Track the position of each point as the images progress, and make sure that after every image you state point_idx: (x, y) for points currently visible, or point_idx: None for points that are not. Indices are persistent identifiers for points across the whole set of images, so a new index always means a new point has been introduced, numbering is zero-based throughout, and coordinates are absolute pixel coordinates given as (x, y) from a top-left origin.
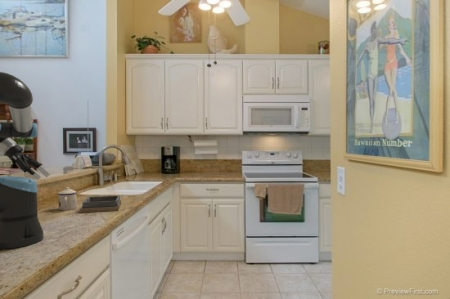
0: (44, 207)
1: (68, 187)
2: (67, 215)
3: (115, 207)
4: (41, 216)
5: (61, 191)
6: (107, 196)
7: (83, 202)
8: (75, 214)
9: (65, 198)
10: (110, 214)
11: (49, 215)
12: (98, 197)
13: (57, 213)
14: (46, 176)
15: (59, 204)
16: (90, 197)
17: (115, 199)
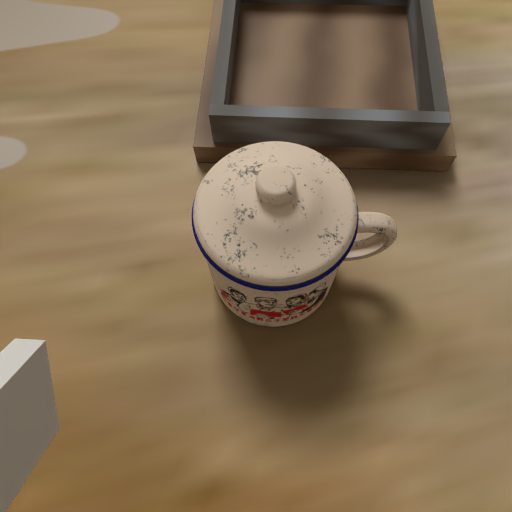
0: (141, 468)
1: (283, 169)
2: (498, 232)
3: (433, 7)
4: (504, 395)
5: (295, 246)
6: (234, 17)
7: (442, 117)
8: (476, 193)
9: (390, 221)
10: (506, 39)
11: (479, 345)
12: (229, 64)
13: (422, 305)
14: (51, 426)
15: (315, 301)
16: (223, 104)
17: (239, 4)
